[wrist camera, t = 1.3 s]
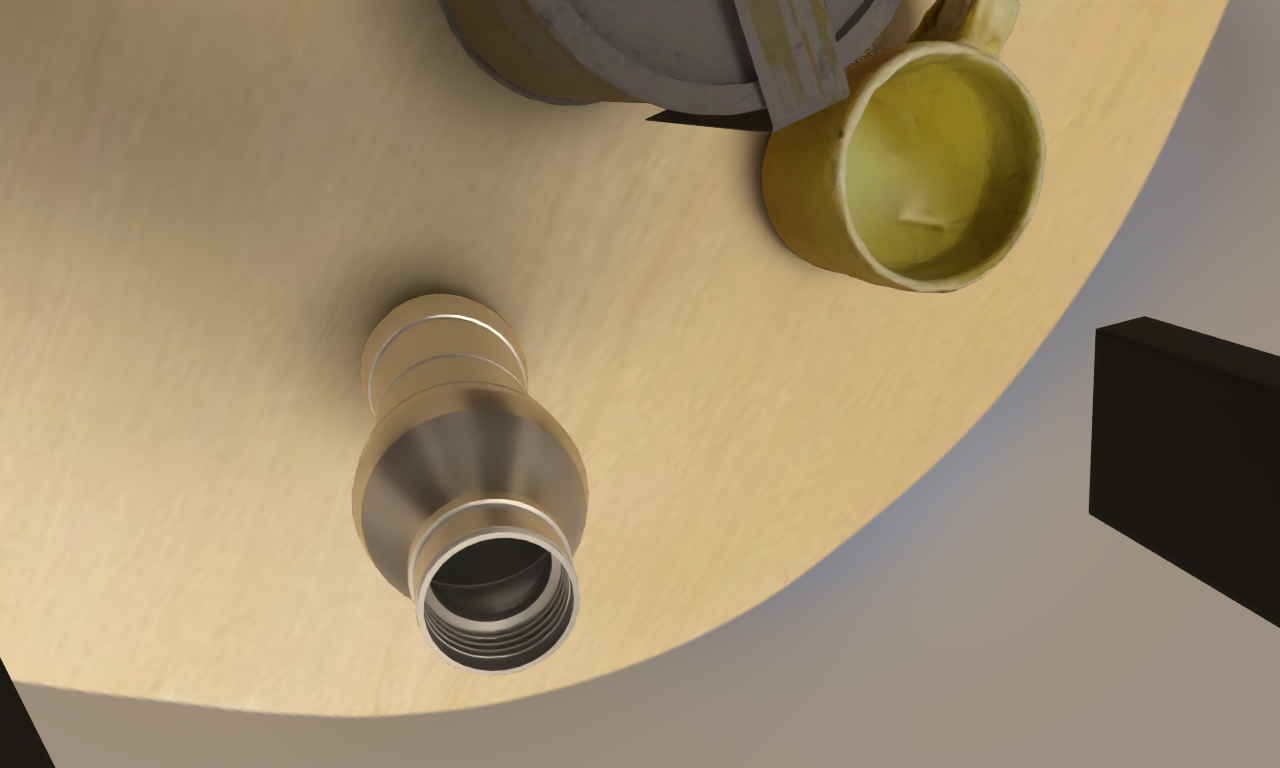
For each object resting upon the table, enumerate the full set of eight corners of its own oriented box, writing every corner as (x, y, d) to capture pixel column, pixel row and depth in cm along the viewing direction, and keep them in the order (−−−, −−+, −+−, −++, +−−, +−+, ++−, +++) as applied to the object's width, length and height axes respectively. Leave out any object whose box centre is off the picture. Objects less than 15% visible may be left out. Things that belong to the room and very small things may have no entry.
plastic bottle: (429, 459, 39) (475, 783, 21) (326, 342, 36) (273, 595, 18) (547, 372, 39) (696, 616, 21) (453, 249, 36) (530, 405, 18)
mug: (896, 346, 41) (1005, 329, 31) (707, 239, 41) (757, 187, 31) (1013, 123, 42) (1155, 37, 32) (830, 13, 41) (917, -109, 31)
